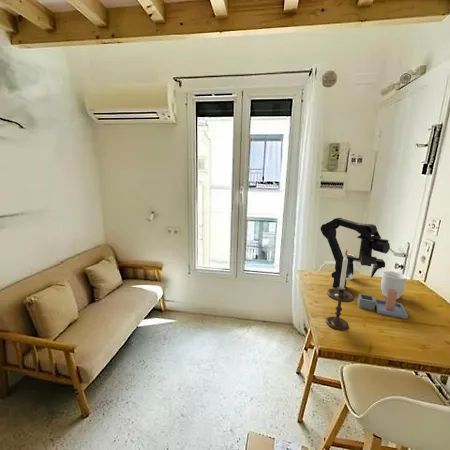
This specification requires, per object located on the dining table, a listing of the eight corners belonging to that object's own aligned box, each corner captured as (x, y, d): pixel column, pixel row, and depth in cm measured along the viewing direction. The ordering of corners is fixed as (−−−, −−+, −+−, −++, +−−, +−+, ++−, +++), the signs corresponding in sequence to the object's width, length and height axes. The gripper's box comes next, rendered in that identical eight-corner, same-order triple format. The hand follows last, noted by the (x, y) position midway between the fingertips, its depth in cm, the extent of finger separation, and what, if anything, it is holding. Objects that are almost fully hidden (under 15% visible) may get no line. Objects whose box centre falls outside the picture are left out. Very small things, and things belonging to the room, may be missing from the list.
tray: (377, 314, 127) (378, 309, 126) (373, 303, 138) (374, 298, 137) (406, 320, 123) (407, 315, 122) (400, 308, 134) (401, 303, 133)
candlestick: (344, 334, 110) (356, 254, 103) (319, 323, 117) (328, 248, 110) (353, 324, 118) (365, 249, 111) (329, 314, 125) (338, 243, 118)
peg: (386, 310, 129) (389, 291, 127) (385, 307, 132) (388, 288, 130) (393, 311, 128) (397, 292, 126) (392, 308, 131) (395, 289, 129)
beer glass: (354, 280, 166) (358, 257, 163) (343, 279, 167) (346, 256, 164) (352, 276, 172) (355, 254, 169) (340, 275, 174) (343, 253, 171)
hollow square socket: (358, 308, 132) (360, 299, 131) (357, 302, 138) (358, 293, 137) (373, 311, 130) (375, 301, 129) (371, 304, 136) (373, 296, 135)
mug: (386, 289, 155) (389, 268, 153) (407, 296, 147) (412, 274, 144) (375, 295, 146) (379, 273, 143) (398, 304, 138) (402, 280, 135)
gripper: (347, 249, 135) (343, 278, 138) (389, 255, 128) (384, 285, 132) (346, 244, 145) (342, 271, 148) (385, 249, 138) (380, 276, 142)
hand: (361, 275), depth 142 cm, fingers open, 9 cm apart
